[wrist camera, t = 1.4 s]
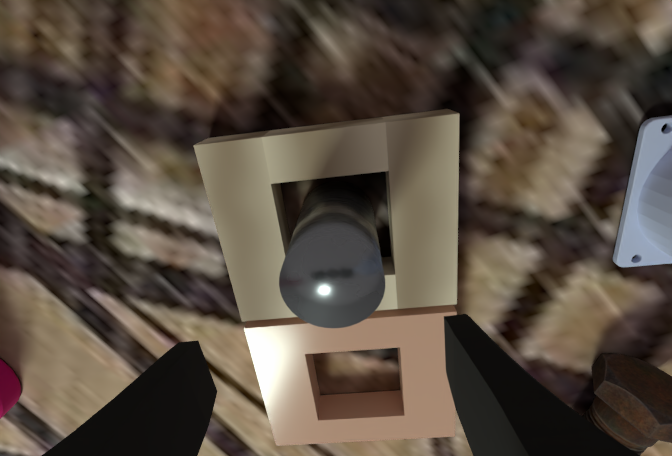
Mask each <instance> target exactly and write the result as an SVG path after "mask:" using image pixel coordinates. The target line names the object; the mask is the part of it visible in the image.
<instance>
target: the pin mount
mask: <svg viewBox="0 0 672 456" xmlns="http://www.w3.org/2000/svg"><path fill="white" fill-rule="evenodd" d="M194 149H195V153H196V156H197V160H198V164H199V167H200V171H201V174H202V178H203V182H204V185H205V189H206V193H207V196H208V200H209V203H210V207H211V211H212V214H213V218H214V222H215V225H216V229H217V232H218V236H219V240H220V243H221V247H222V251H223V254H224V258H225V262H226V265H227V269H228V272H229V276H230V280H231V283H232V287H233V291H234V294H235V298H236V301H237V305H238V309H239V312H240V316H241V320H242V321H253V320H266V319H278V318H291V317H297V316H296V315H295V314H294V313H293V312H292V311H291V310H290V309H289V308H288V307H287V305H286V304H285V302H284V300H283V298H282V296H281V292H280V288H279V276H280V271H281V268H282V265H283V262H284V259H285V256H286V253H287V250H288V247H289V244H290V241H291V238H290V232H289V227H288V222H287V217H286V211H285V206H284V201H283V195H282V190H281V185H280V183H283V182H292V181H301V180H311V179H320V178H329V177H338V176H347V175H356V174H365V173H374V172H384V171H385V172H386V186H387V201H388V216H389V230H390V245H391V257H381V259H382V264H383V270H384V276H385V292H384V296H383V299H382V301H381V303H380V305H379V306H378V308H377V309H376V310H375V311H378V310H391V309H403V308H416V307H428V306H441V305H453V304H457V259H458V185H459V113H457V112H454V111H452V110H450V109H443V110H434V111H426V112H418V113H410V114H401V115H393V116H385V117H377V118H368V119H360V120H352V121H344V122H335V123H327V124H319V125H311V126H302V127H294V128H286V129H278V130H269V131H261V132H253V133H245V134H236V135H228V136H220V137H212V138H207V139H205V140H203V141H201V142H199V143H197V144H195V145H194Z"/></svg>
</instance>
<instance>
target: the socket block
mask: <svg viewBox="0 0 672 456" xmlns="http://www.w3.org/2000/svg"><path fill="white" fill-rule="evenodd" d="M452 315H457V311H456V309H455V307H454V304H453V305H441V306H428V307H416V308H403V309H391V310H378V311H374V312H373V313H372V314H371V315H370V316H369V317H368V318H366V319H365V320H363V321H361V322H359V323H357V324H355V325H352V326H348V327H344V328H323V327H318V326H315V325H312V324H310V323H307V322H305V321H303V320H302V319H300V318H299V317H291V318H278V319H266V320H253V321H247V322H246V325H245V327H244V330H245V334H246V338H247V341H248V345H249V349H250V352H251V356H252V359H253V363H254V367H255V370H256V374H257V378H258V381H259V385H260V388H261V392H262V396H263V399H264V403H265V407H266V410H267V414H268V418H269V421H270V425H271V428H272V432H273V436H274V439H275V443H276V446H281V445H300V444H320V443H339V442H358V441H377V440H396V439H415V438H434V437H453V436H455V405H454V401H453V397H452V393H451V390H450V386H449V382H448V378H447V374H446V361H445V334H444V316H452ZM397 347H398V361H399V376H400V390H396V391H381V392H365V393H349V394H333V395H320V391H319V386H318V381H317V375H316V370H315V365H314V359H313V354H314V353H328V352H342V351H356V350H369V349H383V348H397Z"/></svg>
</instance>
